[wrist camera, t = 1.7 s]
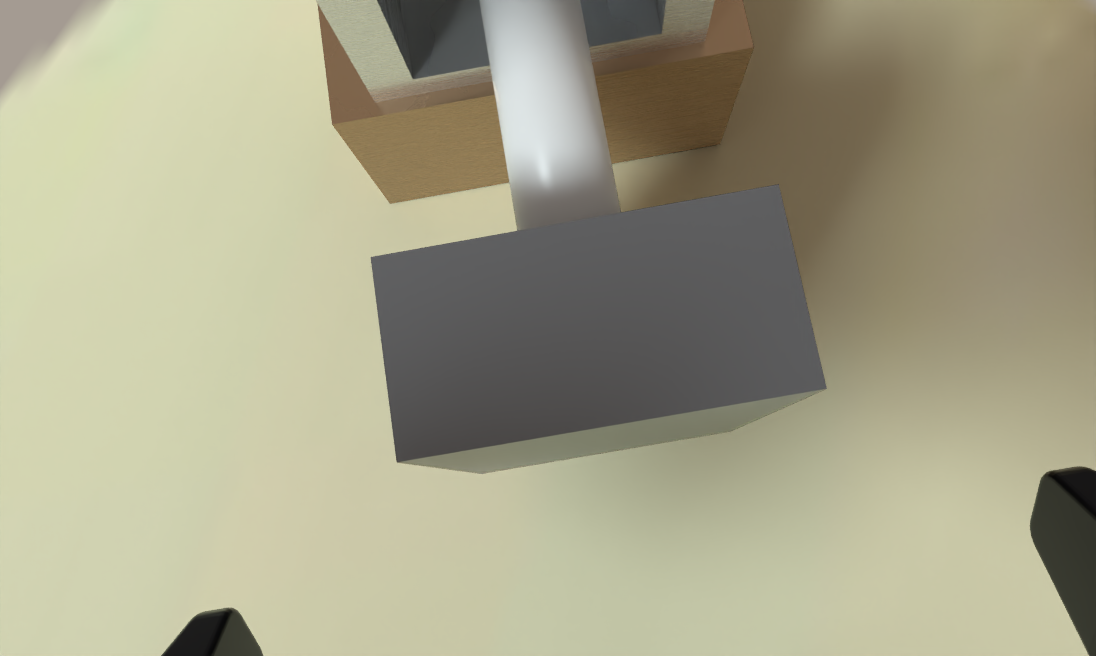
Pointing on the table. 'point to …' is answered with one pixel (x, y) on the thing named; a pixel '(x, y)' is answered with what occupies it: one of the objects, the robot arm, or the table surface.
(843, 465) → the table surface
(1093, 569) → the robot arm
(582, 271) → the plunger
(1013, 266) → the table surface
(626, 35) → the grey brown block
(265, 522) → the table surface
